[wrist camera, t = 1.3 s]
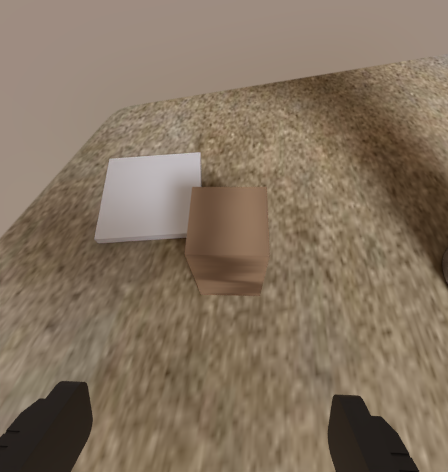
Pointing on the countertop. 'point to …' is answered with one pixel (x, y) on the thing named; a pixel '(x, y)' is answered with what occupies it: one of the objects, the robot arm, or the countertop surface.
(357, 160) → the countertop surface
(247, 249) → the walnut block
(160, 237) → the ceramic tile
